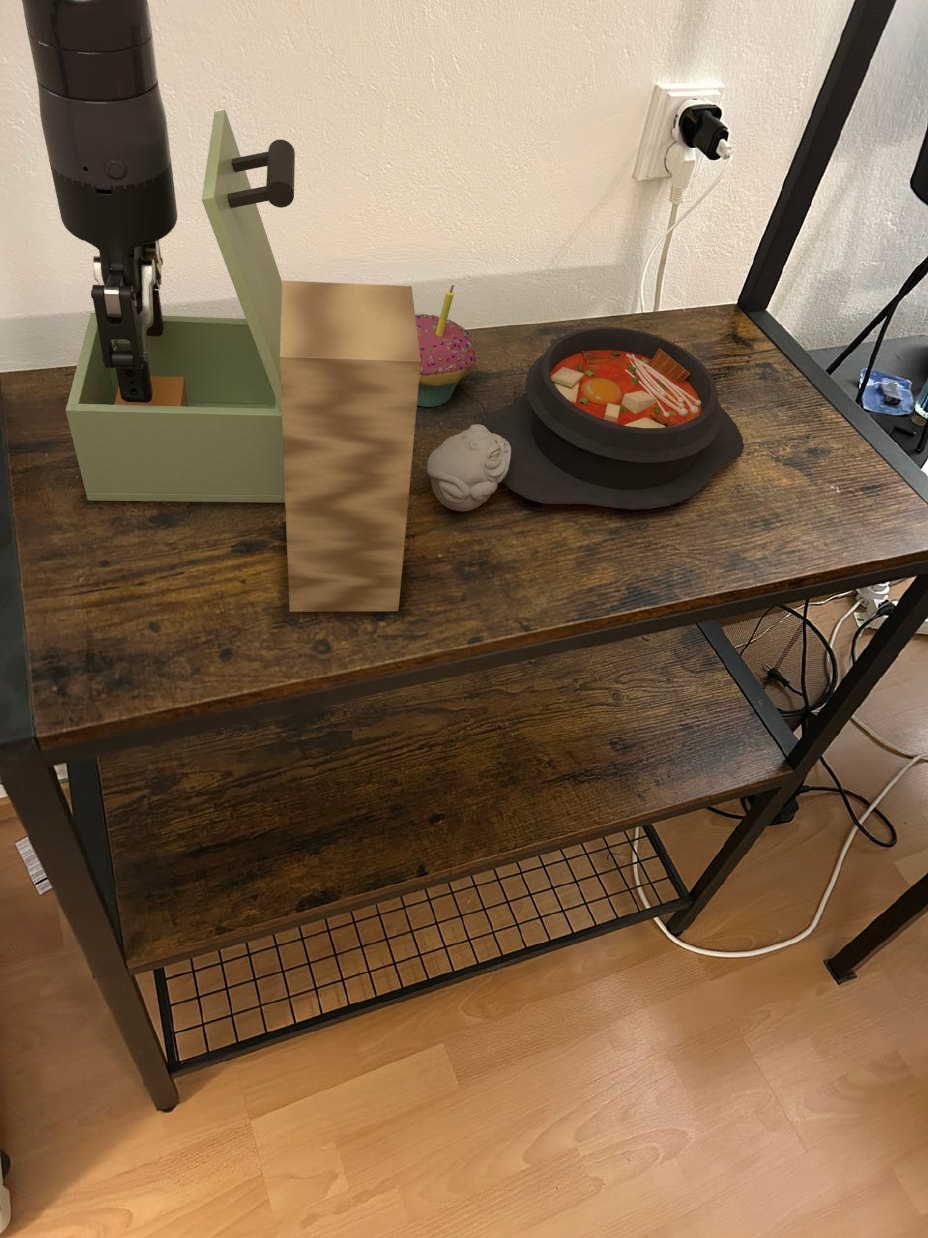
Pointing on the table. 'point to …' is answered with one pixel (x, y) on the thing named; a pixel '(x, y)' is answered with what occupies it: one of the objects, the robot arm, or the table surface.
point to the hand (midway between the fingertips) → (144, 365)
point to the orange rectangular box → (162, 392)
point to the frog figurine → (468, 467)
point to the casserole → (615, 423)
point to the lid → (250, 232)
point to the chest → (181, 420)
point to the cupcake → (442, 355)
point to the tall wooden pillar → (347, 441)
